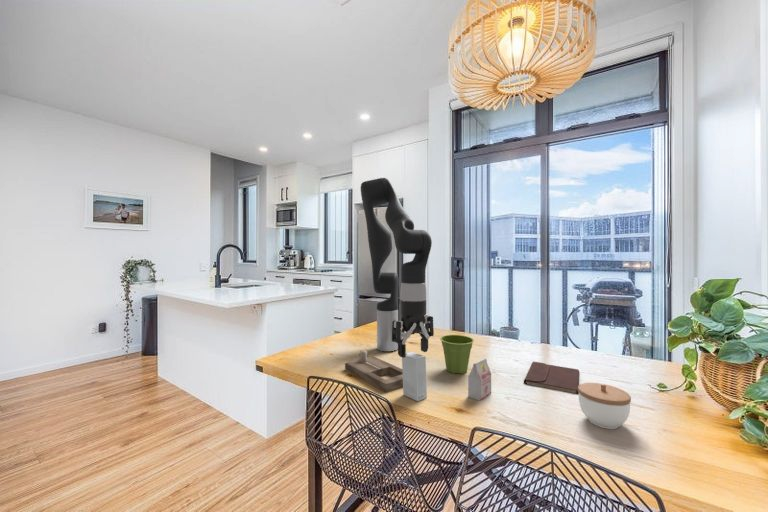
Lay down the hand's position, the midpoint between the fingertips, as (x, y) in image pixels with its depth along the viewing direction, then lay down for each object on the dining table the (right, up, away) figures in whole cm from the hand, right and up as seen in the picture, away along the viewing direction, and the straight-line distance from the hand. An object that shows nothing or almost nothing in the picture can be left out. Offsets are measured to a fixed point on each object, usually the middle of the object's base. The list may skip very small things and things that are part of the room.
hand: (413, 354), depth 94 cm
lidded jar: (+45, -13, -14) cm, 49 cm away
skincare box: (0, -13, 0) cm, 13 cm away
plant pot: (+17, -12, +21) cm, 30 cm away
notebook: (+48, -13, +14) cm, 51 cm away
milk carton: (+20, -13, +1) cm, 23 cm away
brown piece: (-10, -12, +16) cm, 23 cm away
